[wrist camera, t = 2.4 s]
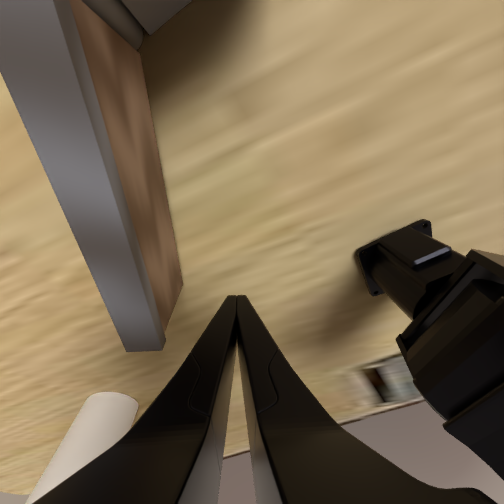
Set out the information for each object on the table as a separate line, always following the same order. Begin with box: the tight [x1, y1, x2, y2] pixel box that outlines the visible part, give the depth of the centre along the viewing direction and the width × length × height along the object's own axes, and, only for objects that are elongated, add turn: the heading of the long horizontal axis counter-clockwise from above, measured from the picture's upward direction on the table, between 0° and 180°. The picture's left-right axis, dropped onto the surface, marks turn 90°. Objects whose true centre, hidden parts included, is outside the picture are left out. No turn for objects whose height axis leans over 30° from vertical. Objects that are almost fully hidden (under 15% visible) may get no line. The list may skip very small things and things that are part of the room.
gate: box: [0, 0, 183, 352], centre depth 12 cm, size 16×2×7 cm, turn 179°
